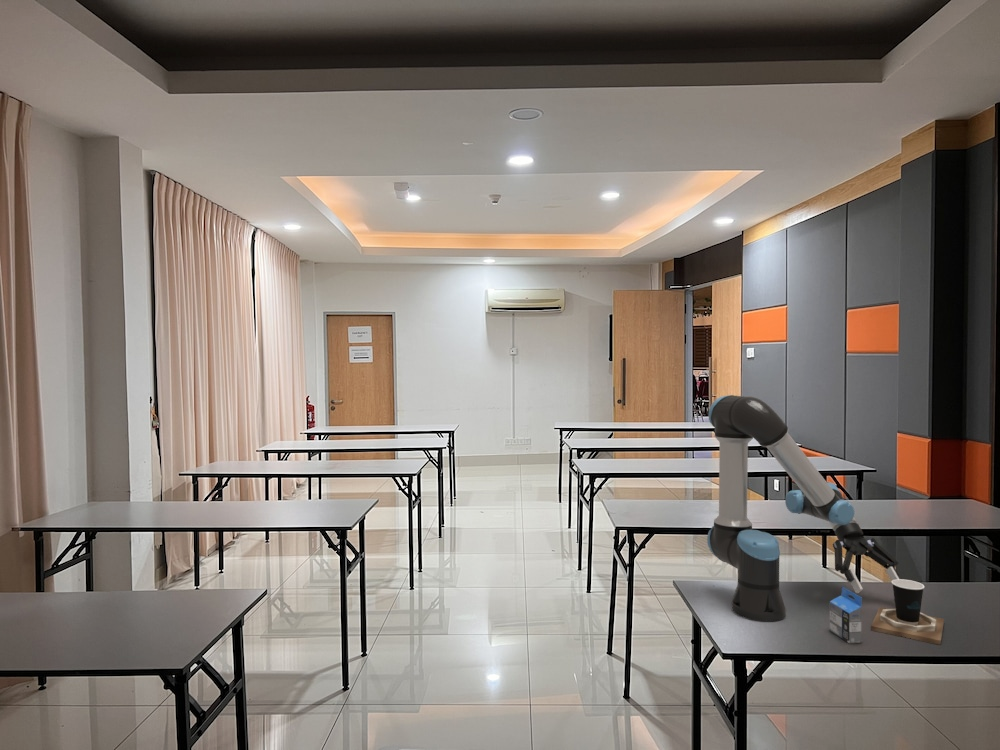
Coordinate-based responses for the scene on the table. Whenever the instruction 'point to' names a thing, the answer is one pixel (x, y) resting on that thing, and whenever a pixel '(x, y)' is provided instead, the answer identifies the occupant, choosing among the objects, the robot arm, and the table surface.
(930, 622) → the board
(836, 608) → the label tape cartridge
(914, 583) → the dixie cup
